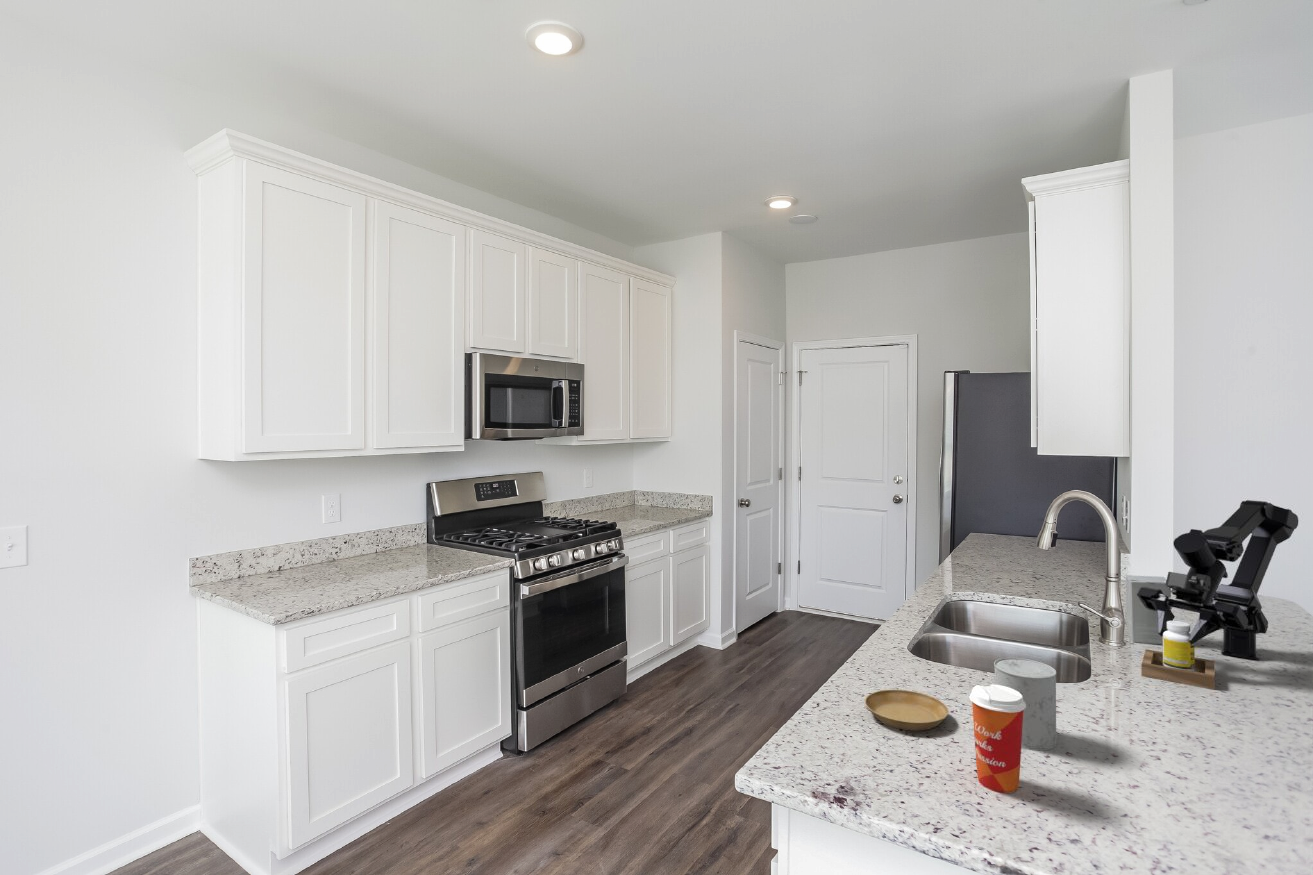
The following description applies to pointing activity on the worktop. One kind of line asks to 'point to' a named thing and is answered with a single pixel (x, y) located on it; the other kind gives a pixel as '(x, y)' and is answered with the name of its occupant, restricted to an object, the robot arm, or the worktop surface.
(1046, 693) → the grey concrete cylinder
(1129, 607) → the skincare box
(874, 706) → the plant saucer
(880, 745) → the worktop surface
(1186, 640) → the supplement bottle
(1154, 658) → the brown wooden frame
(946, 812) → the worktop surface
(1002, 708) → the paper cup
